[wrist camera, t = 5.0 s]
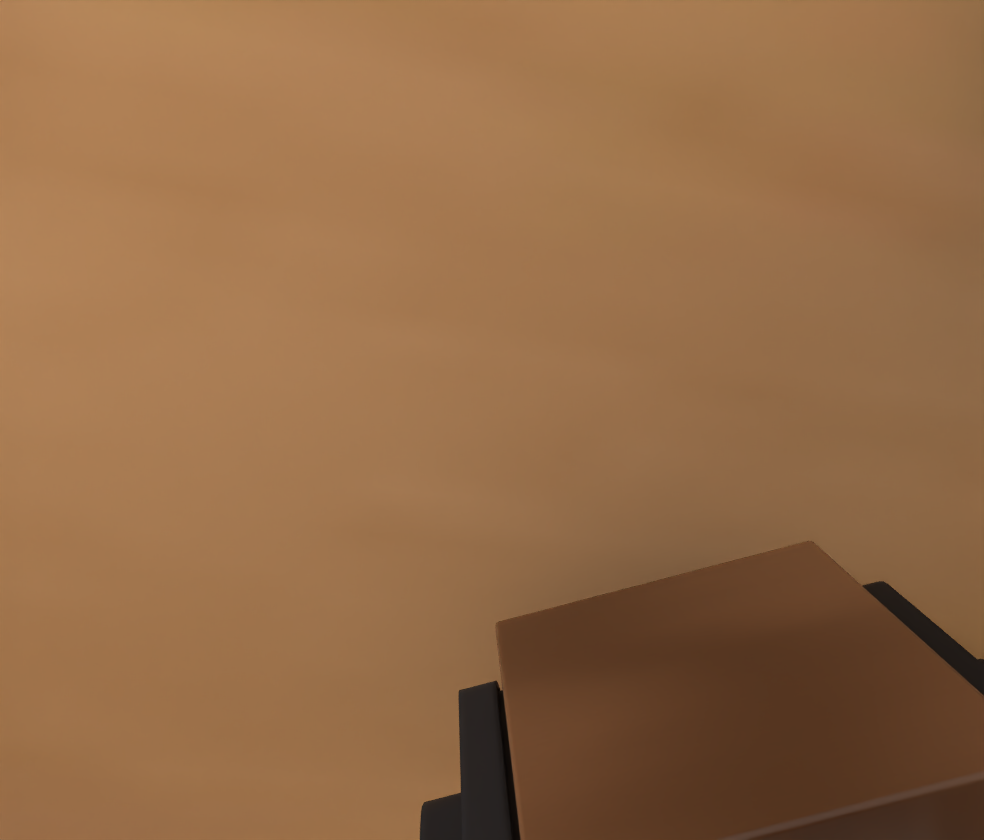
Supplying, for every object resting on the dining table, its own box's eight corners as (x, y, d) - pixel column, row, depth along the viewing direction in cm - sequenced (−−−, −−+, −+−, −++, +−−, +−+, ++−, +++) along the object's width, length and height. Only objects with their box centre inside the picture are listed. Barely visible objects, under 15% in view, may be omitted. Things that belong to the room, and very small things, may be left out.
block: (567, 876, 12) (634, 1251, 8) (493, 620, 11) (525, 893, 6) (854, 803, 12) (1086, 1139, 7) (811, 538, 11) (1057, 757, 6)
